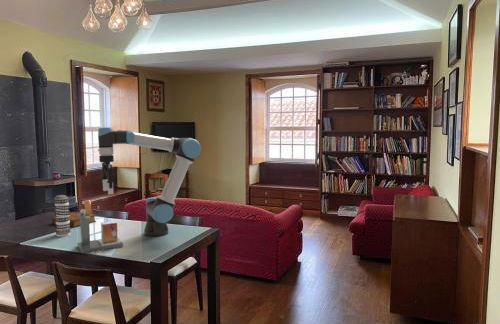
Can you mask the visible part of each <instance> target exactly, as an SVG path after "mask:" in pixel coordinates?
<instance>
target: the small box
mask: <svg viewBox="0 0 500 324" xmlns="http://www.w3.org/2000/svg"><path fill="white" fill-rule="evenodd" d="M100 227H101V228H100V230H101V239H102V241H103V242H110V241H117V240H118V238H119V236H118V222H117V221H116V220H113V221H106V222H100Z"/></svg>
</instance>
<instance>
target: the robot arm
mask: <svg viewBox="0 0 500 324" xmlns="http://www.w3.org/2000/svg"><path fill="white" fill-rule="evenodd" d="M97 132H98V133H97V136H98V137H97V138H98V139H97V140H98V149H97V151H98V154H99V156H98V157H99V159H98V160H99V163H101V165H102V166H101V180H102V191H103V192H106V191H107V195H114V182H115V181H114V173H113V165H112V164H113V163H114V161H115V160H114V145H124V144H125V145H131V146H138V147H143V148H150V149H156V150H164V151H168V152H169V153H172V154H175V157H176V160H175V162H174V164H173V167H172V169H171V170H170V173H169V175H168V179H166V182H165V185H164V186H163V189H162V191H161V194H160V195H158V196H156V197H147V198H145V199H146V201H145V207H146V209H145V211H146V223H145V226H144V230H143V232H144V235H145V236H147V237H160V236H165V235H167V234H169V227H168V224H167V223H168V222H169V221H170V220H171V219H172V218H173V216H174V208H175V205H176V203H175V199H176V197H177V195H178V192H179V190H180V187H181V186H182V183H183V181H184V178H185V176H186V174H187V171H188V169H189V167H190V166H191V164H194V162H195V159H196V158H197V157H199V156H200V154H201V151H202V147H201V144H200V142H199V141H198V140H197V139H194V138H192V137H180V138H179V137H170V138H168V137H163V136H157V135H156V136H155V135H150V134H146V133H145V134H144V133H138V132H135V131H133V130H130V129H129V130H127V129H126V130H122V129H118V130H113V128H112V127H110V126H109V127H99V128H98V130H97ZM111 163H112V164H111Z"/></svg>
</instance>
